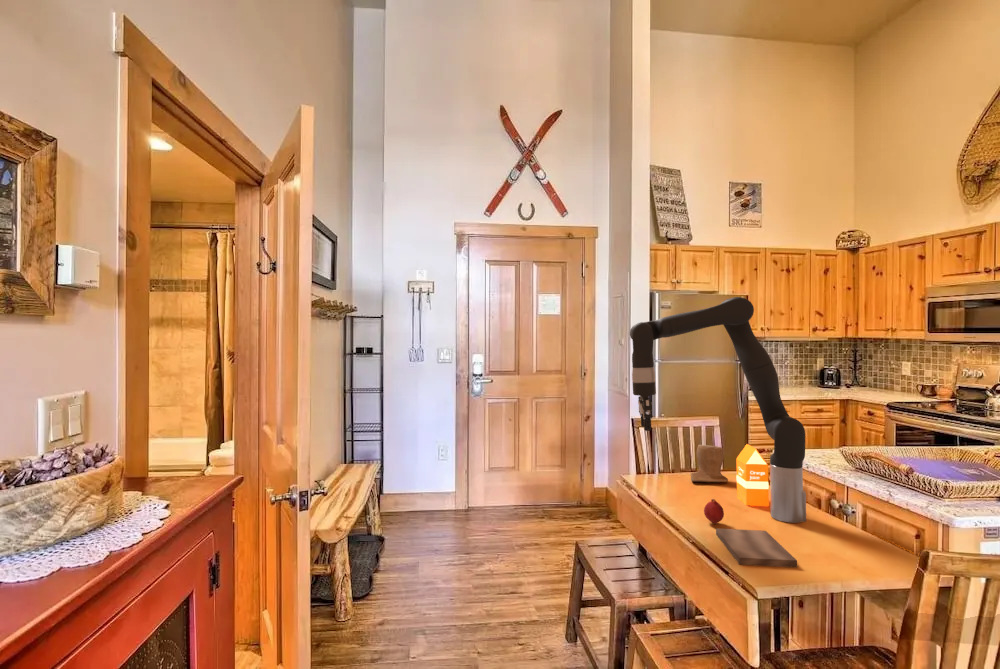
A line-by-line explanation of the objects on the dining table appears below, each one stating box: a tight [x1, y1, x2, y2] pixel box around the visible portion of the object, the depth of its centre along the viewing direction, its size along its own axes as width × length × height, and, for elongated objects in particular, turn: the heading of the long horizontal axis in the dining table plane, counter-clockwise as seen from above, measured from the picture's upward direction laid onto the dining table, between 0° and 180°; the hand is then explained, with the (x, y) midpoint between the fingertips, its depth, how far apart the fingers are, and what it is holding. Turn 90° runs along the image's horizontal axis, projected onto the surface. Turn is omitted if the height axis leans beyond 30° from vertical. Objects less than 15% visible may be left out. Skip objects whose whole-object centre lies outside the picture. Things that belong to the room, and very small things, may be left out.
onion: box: [703, 498, 725, 525], centre depth 155 cm, size 6×6×8 cm
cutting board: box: [715, 528, 798, 568], centre depth 136 cm, size 14×20×2 cm
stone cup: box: [690, 444, 729, 483], centre depth 204 cm, size 15×12×15 cm
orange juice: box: [735, 443, 770, 507], centre depth 177 cm, size 8×9×20 cm
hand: (646, 428), depth 166 cm, fingers open, 8 cm apart
